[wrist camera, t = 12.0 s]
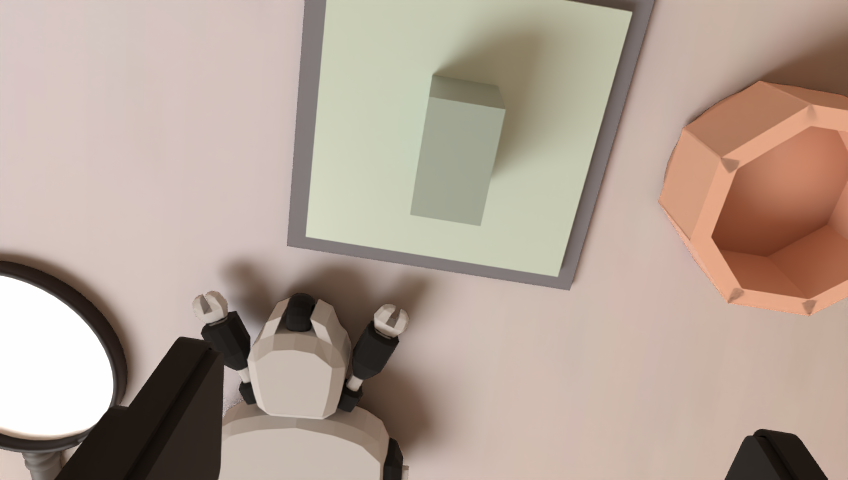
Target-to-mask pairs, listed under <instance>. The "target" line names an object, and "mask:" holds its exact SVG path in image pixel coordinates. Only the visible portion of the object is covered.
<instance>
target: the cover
mask: <svg viewBox="0 0 848 480" xmlns="http://www.w3.org/2000/svg"><path fill="white" fill-rule="evenodd" d="M631 16H632V12H631V11H628V10H622V9H617V8H611V7H605V6H600V5H594V4H588V3H582V2H577V1H571V0H327V1H326V12H325V23H324V35H323V46H322V57H321V68H320V80H319V91H318V102H317V114H316V125H315V136H314V148H313V159H312V170H311V182H310V193H309V204H308V216H307V227H306V237H311V238H317V239H323V240H330V241H336V242H342V243H348V244H355V245H361V246H367V247H373V248H380V249H386V250H392V251H398V252H405V253H411V254H417V255H424V256H430V257H436V258H442V259H449V260H455V261H461V262H467V263H474V264H480V265H486V266H492V267H499V268H505V269H511V270H517V271H524V272H530V273H536V274H543V275H549V276H555V277H558V274H559V271H560V267H561V264H562V260H563V257H564V253H565V250H566V246H567V243H568V239H569V235H570V232H571V228H572V225H573V221H574V218H575V214H576V211H577V207H578V204H579V200H580V197H581V193H582V189H583V186H584V182H585V179H586V175H587V172H588V168H589V165H590V161H591V158H592V154H593V151H594V147H595V143H596V140H597V136H598V133H599V129H600V126H601V122H602V119H603V115H604V112H605V108H606V104H607V101H608V97H609V94H610V90H611V87H612V83H613V80H614V76H615V73H616V69H617V66H618V62H619V58H620V55H621V51H622V48H623V44H624V41H625V37H626V34H627V30H628V27H629V23H630V19H631Z"/></svg>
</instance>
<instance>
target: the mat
mask: <svg viewBox="0 0 848 480" xmlns="http://www.w3.org/2000/svg"><path fill="white" fill-rule="evenodd" d="M326 1H327V0H305V6H304V20H303V33H302V47H301V61H300V74H299V88H298V102H297V115H296V129H295V143H294V157H293V170H292V184H291V198H290V211H289V225H288V239H287V246H290V247H297V248H303V249H309V250H316V251H322V252H329V253H335V254H341V255H348V256H354V257H360V258H367V259H373V260H379V261H386V262H392V263H398V264H405V265H411V266H417V267H424V268H430V269H437V270H443V271H449V272H456V273H462V274H468V275H475V276H481V277H487V278H494V279H500V280H506V281H513V282H519V283H525V284H532V285H538V286H545V287H551V288H557V289H564V290H570V288H571V284H572V281H573V278H574V274H575V271H576V267H577V264H578V260H579V257H580V254H581V250H582V247H583V243H584V240H585V237H586V233H587V230H588V226H589V223H590V219H591V216H592V213H593V209H594V206H595V202H596V199H597V195H598V192H599V189H600V185H601V182H602V178H603V175H604V172H605V168H606V165H607V161H608V158H609V154H610V151H611V148H612V144H613V141H614V137H615V134H616V130H617V127H618V124H619V120H620V117H621V113H622V110H623V107H624V103H625V100H626V96H627V93H628V89H629V86H630V83H631V79H632V76H633V72H634V69H635V65H636V62H637V59H638V55H639V52H640V48H641V45H642V42H643V38H644V35H645V31H646V28H647V24H648V21H649V18H650V14H651V11H652V7H653V4H654V0H571V1H577V2H582V3H588V4H594V5H600V6H605V7H611V8H617V9H622V10H628V11H631V12H632V16H631V19H630V23H629V27H628V30H627V34H626V37H625V41H624V44H623V48H622V51H621V55H620V58H619V62H618V66H617V69H616V73H615V76H614V80H613V83H612V87H611V90H610V94H609V97H608V101H607V104H606V108H605V112H604V115H603V119H602V122H601V126H600V129H599V133H598V136H597V140H596V143H595V147H594V151H593V154H592V158H591V161H590V165H589V168H588V172H587V175H586V179H585V182H584V186H583V189H582V193H581V197H580V200H579V204H578V207H577V211H576V214H575V218H574V221H573V225H572V228H571V232H570V235H569V239H568V243H567V246H566V250H565V253H564V257H563V260H562V264H561V267H560V271H559V274H558V277H555V276H549V275H543V274H536V273H530V272H524V271H517V270H511V269H505V268H499V267H492V266H486V265H480V264H474V263H467V262H461V261H455V260H449V259H442V258H436V257H430V256H424V255H417V254H411V253H405V252H398V251H392V250H386V249H380V248H373V247H367V246H361V245H355V244H348V243H342V242H336V241H330V240H323V239H317V238H311V237H306V227H307V216H308V204H309V193H310V182H311V170H312V159H313V148H314V136H315V125H316V114H317V102H318V91H319V80H320V68H321V57H322V46H323V35H324V23H325V12H326Z"/></svg>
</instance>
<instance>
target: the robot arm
mask: <svg viewBox="0 0 848 480" xmlns="http://www.w3.org/2000/svg"><path fill="white" fill-rule="evenodd" d="M223 380H224V353H223V352H222V351H216V350H215V346H214V343H213V342H212V341H206V340H200V339H194V338H187V337H179V338H178V339H177V340H176V341H175V342H174V344H173V345H172V347H171V348H170V349H169V351H168V352H167V354H166V355H165V356H164V358H163V359H162V361H161V362H160V363H159V365H158V366H157V368H156V369H155V370H154V372H153V373H152V375H151V376H150V377H149V379H148V380H147V382H146V383H145V384H144V386H143V387H142V389H141V390H140V391H139V393H138V394H137V396H136V397H135V398H134V400H133V401H132V403H131V404H130V405H129V407H125V406H118V405H114V406H112V407H110V408H109V409H108V410H107V411H106V412H105V413H104V414H103V416H102V417H101V418H100V420H99V421H98V422H97V424H96V425H95V426H94V428H93V429H92V430H91V432H90V433H89V434H88V436H87V437H86V438H85V439H84V441H83V442H82V443H81V445H80V446H79V447H78V449H77V450H76V451H75V453H74V454H73V455H72V457H71V458H70V459H69V461H68V462H67V463H66V465H65V466H64V467H63V469H62V470H61V471H60V473H59V474H58V475H57V476H56V478H55V479H54V480H218V479H219V475H220V469H221V447H222V413H223ZM725 480H828V478H827V477H826V476H825V474H824V473H823V471H822V470H821V468H820V467H819V465H818V464H817V463H816V461H815V460H814V458H813V457H812V455H811V454H810V453H809V451H808V450H807V448H806V447H805V445H804V444H803V442H802V441H801V440H800V439H799V438H798V436H796V435H794V434H791V433H785V432H779V431H773V430H766V429H759V430H757V431H756V432H755V433H754V434H753V436H747V437H746V438H745V439H744V440H743V442H742V444H741V446H740V448H739V451H738V453H737V455H736V457H735V459H734V461H733V463H732V465H731V467H730V469H729V471H728V474H727V476H726V478H725Z"/></svg>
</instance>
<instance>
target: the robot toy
mask: <svg viewBox="0 0 848 480" xmlns="http://www.w3.org/2000/svg"><path fill="white" fill-rule="evenodd" d="M205 297H206V299H207V301H208V302H207V301H206V299H205V298H204V296H203V294H202V295H199V296H198V297H196V298H195V300H194V301H193V303H192V304H193V308H194V311H195V315H196V317H197V318H198V319H200V320H201V321H203V322H204V323H206V325H205V326H204V327H203V329H202V332H201V335H202V337H203V338H204V340H206V341H212V342H213V343H214V346H215V350H216V351H222V352H223V353H224V365H226V366H227V367H229V368H232V369H234V370H236V371H237V372H238V374H239V376H240V377H241V379H242V382H241V384H240V387H239V391H240V393H241V395H242V396H243V398H244V400H245V401H242V402H240V403H239V404H237V405H235V406H233V407H231V408H230V409H228V410H227V412H226V414H225V416H224V417H223V419H222V447H221V469H220V475H219V479H218V480H408V470H409V466H403V456H402V454H401V451H400V448H399V446H398V443H397V441H396V440H394V439H392V438H389V436H388V433H387V431H386V429H385V427H384V424H383V422H382V420H380V419H379V418H377V417H376V416H374V415H373V414H371V413H370V412H369V411H367V410H365V409H362V408H360V407H357V406H356V404H357V402H358V401H359V399H360V397H361V396H362V394H363V393H362V387H361V386H360V385H361V384H362V382H363V380H365V379H367V378H370V377H372V376H374V375H376V374H378V373H380V372H381V370H382V369H383V367H384V366H385V364H386V363H387V361H388V359H389V358H390V356H391V354H392V353H393V351H394V350H395V348H396V346H397V345H398V343H399V339H398V335H399V334H400V333H402V332H404V331H405V330H406V329H407V326H408V323H409V317H408V315H407V313H406V311H404V310H402V309H400V313H399V314H398V316H397V318H396V320H394V319H392V318H390V316H391V314H392V313H393V312H394V311H395V307H396V306H394V305H392V304H385V305H383V306H382V307H381V308H380V309H379V310H378V311H377V312H376V313H375V314H374V321H371V322H370V323H369V324H368V326H367V327H366V329H365V331H364V332H363V334H362V336H361V337H360V339H359V341H358V343H357V344H356V346H355V348H354V349H353V361H352V365H353V372H352V374H351V376H350V377H349V379H346V378H345V377H346V373H347V369H348V364H349V358H350V351H351V342H350V339H349V336H348V333H347V331H346V330H345V329H344V328H343V327H342V326H341V325H340V324H339V321H338V318H337V316H336V313H335V311H334V308H333V306H331V305H329V304H328V303H326V302H324V301H322V300H320V299H319V300H318V302H317V304H316V306H315V301H314V299H313V298H312V297H311V296H309V295H307V294H303V293H300V294H295V295H293V296H292V297H290V298H288V299H285V300H283V301H280V302H278V303H277V305H276V307H275V308H274V310H273V312H272V314H271V315H270V317H269V319H268V321H267V323H266V324H265V325H264V326H263V328H262V330H261V332H260V334H259V335H258V337H257V339H256V341H255V342H254V344H253V346H252V348H251V351H250V335H249V334H248V332H247V330H246V328H245V326H244V324H243V323H242V321H241V319H240V317H239V315H238V313H237V311H233V312H228V307H227V301H226V300H225V299H224V298H223V296H222V295H221V294H220V293H219V292H215V291H211V292H208V293H207V294H206V295H205ZM208 303H209V304H208ZM285 312H286V314H285Z"/></svg>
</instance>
